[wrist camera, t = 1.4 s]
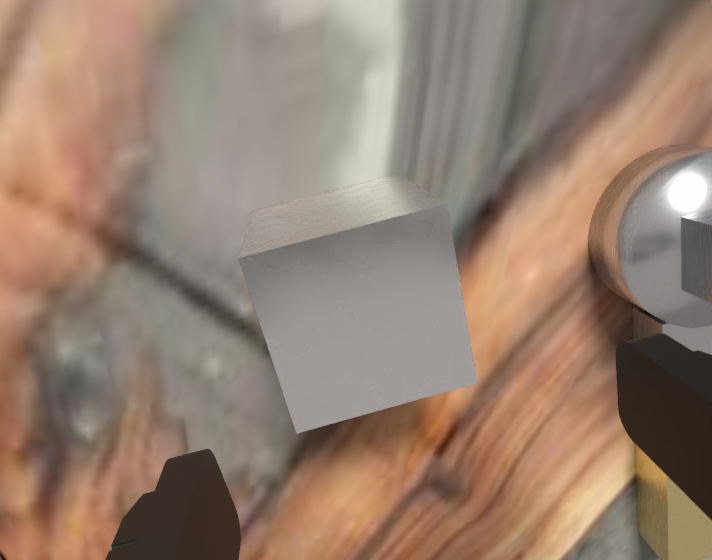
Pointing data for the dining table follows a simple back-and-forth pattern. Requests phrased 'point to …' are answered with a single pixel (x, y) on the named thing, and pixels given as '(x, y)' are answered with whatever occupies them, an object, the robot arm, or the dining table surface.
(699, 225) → the ratchet
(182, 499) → the robot arm
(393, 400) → the brushed steel cube
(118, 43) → the dining table surface
